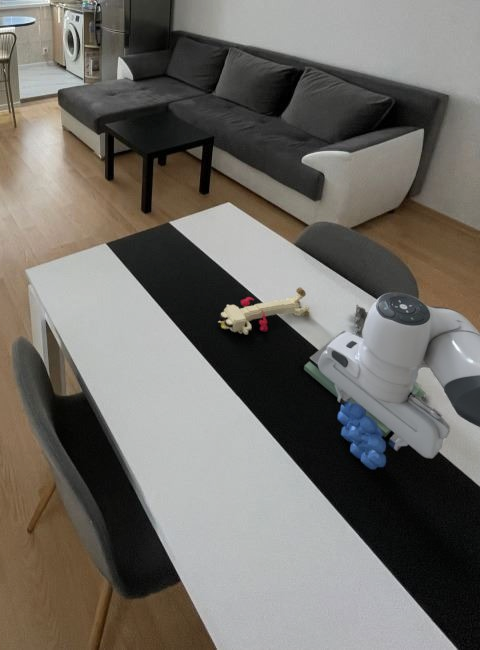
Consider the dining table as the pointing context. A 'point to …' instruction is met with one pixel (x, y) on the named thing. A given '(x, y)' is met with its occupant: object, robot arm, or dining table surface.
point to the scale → (330, 386)
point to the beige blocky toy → (260, 312)
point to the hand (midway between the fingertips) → (367, 422)
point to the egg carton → (359, 320)
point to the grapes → (363, 435)
